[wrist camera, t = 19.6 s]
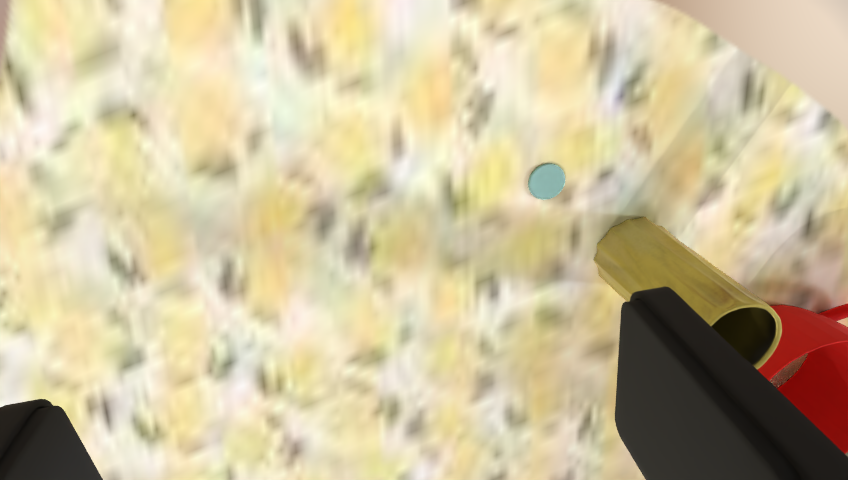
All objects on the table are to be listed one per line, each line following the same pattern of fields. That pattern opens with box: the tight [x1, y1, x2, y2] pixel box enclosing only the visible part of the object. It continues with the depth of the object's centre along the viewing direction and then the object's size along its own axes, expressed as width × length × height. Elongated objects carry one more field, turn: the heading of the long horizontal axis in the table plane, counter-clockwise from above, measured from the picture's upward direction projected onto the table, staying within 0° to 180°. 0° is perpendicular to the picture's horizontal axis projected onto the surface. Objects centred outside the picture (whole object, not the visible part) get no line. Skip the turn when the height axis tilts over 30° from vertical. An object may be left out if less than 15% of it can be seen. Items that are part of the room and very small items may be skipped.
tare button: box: [528, 163, 565, 200], centre depth 38 cm, size 3×3×1 cm
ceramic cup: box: [757, 304, 848, 454], centre depth 46 cm, size 13×17×10 cm
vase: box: [594, 217, 782, 369], centre depth 37 cm, size 6×6×14 cm
